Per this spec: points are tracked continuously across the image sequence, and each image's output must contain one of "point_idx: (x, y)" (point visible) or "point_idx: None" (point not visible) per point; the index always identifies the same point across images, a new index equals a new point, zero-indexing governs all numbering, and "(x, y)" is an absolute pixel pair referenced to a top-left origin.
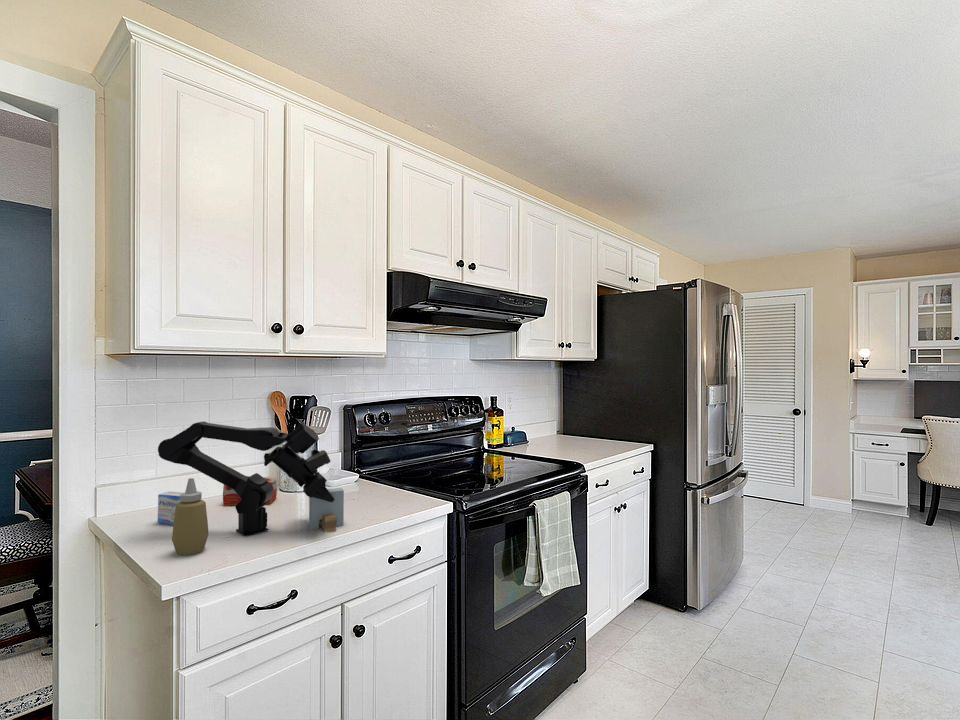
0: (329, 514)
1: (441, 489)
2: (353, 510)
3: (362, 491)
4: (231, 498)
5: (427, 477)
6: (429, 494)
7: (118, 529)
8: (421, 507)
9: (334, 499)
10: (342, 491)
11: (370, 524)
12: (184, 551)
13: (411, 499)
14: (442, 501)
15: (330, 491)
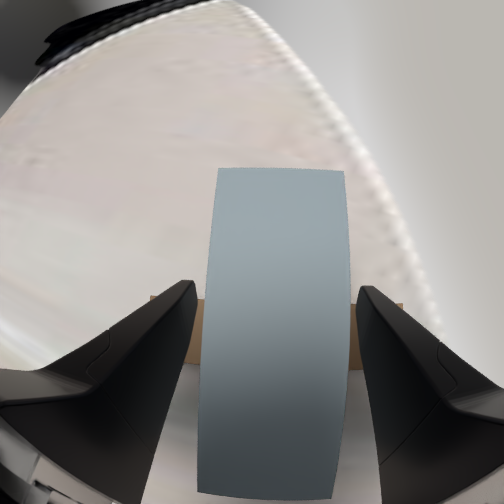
0: (350, 332)
1: (128, 9)
2: (124, 176)
3: (8, 138)
4: None
5: (49, 38)
6: (141, 19)
7: None
8: (231, 28)
9: (374, 287)
10: (344, 186)
11: (346, 162)
12: None
13: (146, 40)
14: (211, 4)
15: (333, 305)
